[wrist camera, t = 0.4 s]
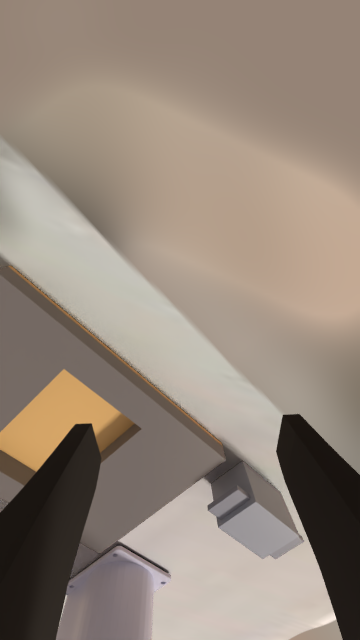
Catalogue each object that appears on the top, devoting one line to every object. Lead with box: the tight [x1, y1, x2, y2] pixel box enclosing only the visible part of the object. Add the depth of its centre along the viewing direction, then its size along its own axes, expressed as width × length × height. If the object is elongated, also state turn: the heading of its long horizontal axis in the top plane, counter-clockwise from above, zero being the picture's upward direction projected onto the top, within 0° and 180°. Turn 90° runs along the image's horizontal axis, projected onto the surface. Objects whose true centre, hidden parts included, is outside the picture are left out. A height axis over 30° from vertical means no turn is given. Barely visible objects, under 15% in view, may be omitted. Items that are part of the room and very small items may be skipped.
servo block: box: [208, 461, 304, 559], centre depth 23 cm, size 4×9×4 cm, turn 44°
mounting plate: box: [0, 266, 226, 554], centre depth 21 cm, size 16×22×2 cm
